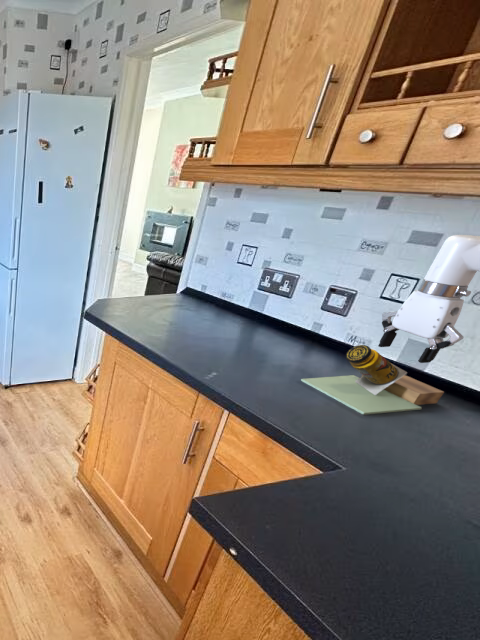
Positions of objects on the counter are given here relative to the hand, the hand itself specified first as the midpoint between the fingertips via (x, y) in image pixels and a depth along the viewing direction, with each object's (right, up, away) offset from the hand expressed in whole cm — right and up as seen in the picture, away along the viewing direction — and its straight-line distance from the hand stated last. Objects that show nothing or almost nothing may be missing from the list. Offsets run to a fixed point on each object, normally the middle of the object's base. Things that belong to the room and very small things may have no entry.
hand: (403, 354), depth 108 cm
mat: (-8, -11, +4) cm, 14 cm away
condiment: (-2, -6, +4) cm, 8 cm away
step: (+5, -10, +7) cm, 13 cm away
